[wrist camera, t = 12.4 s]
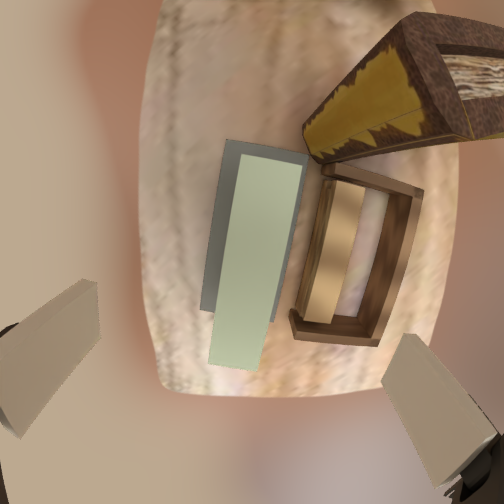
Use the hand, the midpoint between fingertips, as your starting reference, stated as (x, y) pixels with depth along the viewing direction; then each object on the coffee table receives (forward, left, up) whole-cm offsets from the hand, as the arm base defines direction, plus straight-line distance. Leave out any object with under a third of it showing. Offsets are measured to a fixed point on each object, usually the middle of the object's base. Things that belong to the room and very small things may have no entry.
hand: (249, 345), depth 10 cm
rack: (0, +13, -25) cm, 28 cm away
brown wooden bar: (0, +9, -25) cm, 26 cm away
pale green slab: (0, 0, -24) cm, 24 cm away
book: (-18, +14, -25) cm, 34 cm away
